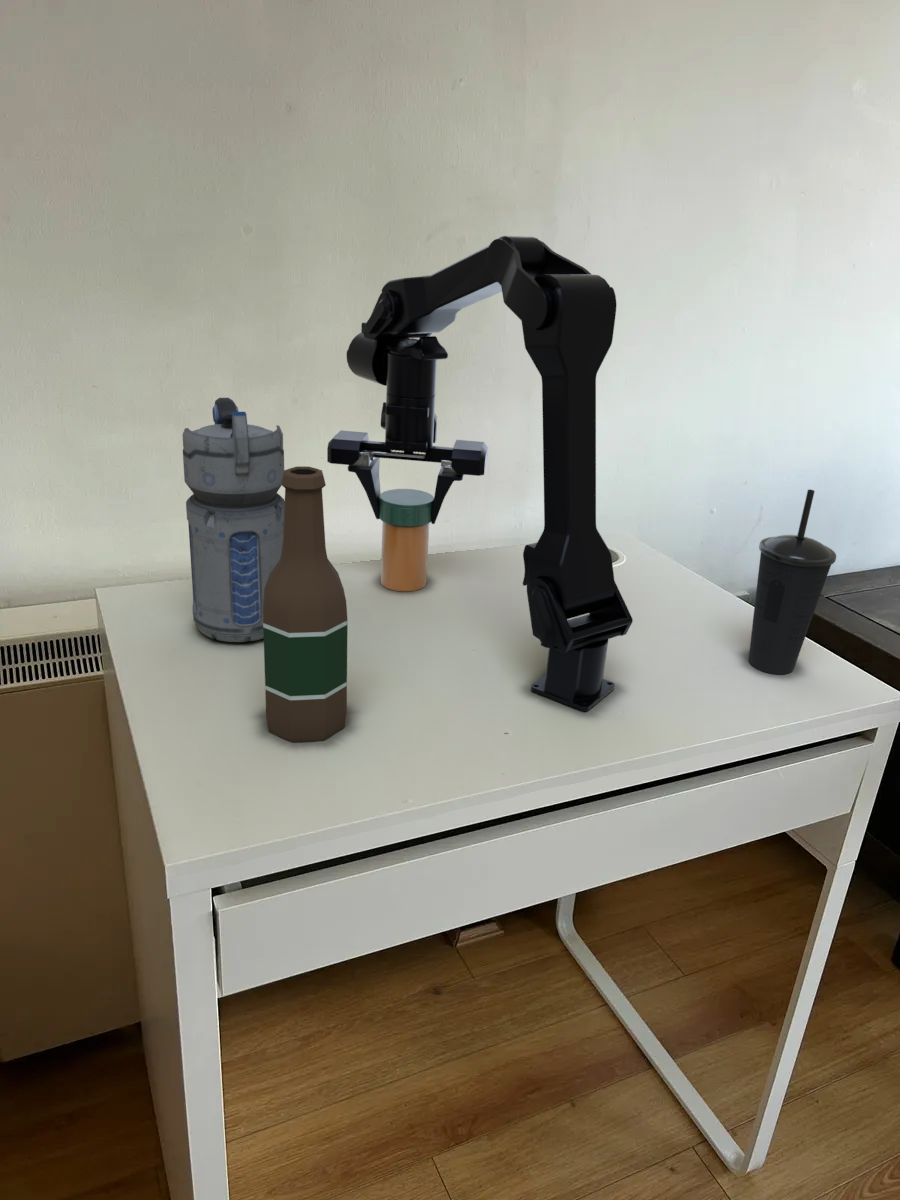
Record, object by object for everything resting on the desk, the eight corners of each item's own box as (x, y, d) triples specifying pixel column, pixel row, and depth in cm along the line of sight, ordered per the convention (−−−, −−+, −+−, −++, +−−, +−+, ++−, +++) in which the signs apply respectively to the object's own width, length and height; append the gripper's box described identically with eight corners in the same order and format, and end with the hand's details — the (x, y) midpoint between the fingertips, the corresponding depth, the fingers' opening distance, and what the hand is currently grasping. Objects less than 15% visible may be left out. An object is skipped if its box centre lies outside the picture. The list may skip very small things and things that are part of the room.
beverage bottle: (273, 596, 109) (268, 387, 98) (297, 644, 97) (294, 414, 87) (186, 604, 105) (172, 388, 95) (200, 655, 94) (185, 417, 84)
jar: (418, 594, 111) (422, 510, 107) (374, 587, 113) (376, 504, 108) (431, 577, 117) (436, 497, 112) (389, 571, 118) (392, 491, 114)
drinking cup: (817, 683, 96) (863, 504, 88) (746, 679, 96) (785, 499, 88) (794, 650, 103) (834, 481, 95) (727, 646, 103) (762, 477, 95)
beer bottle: (333, 751, 79) (333, 489, 69) (249, 737, 80) (239, 478, 71) (358, 707, 86) (362, 463, 76) (281, 695, 88) (276, 453, 78)
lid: (423, 529, 107) (424, 508, 106) (371, 522, 109) (371, 500, 108) (439, 513, 113) (440, 493, 112) (389, 506, 115) (390, 486, 114)
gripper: (494, 387, 112) (485, 507, 118) (346, 375, 113) (345, 495, 119) (488, 405, 101) (479, 535, 108) (326, 392, 103) (326, 522, 109)
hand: (406, 520), depth 111 cm, fingers closed on lid, 6 cm apart
